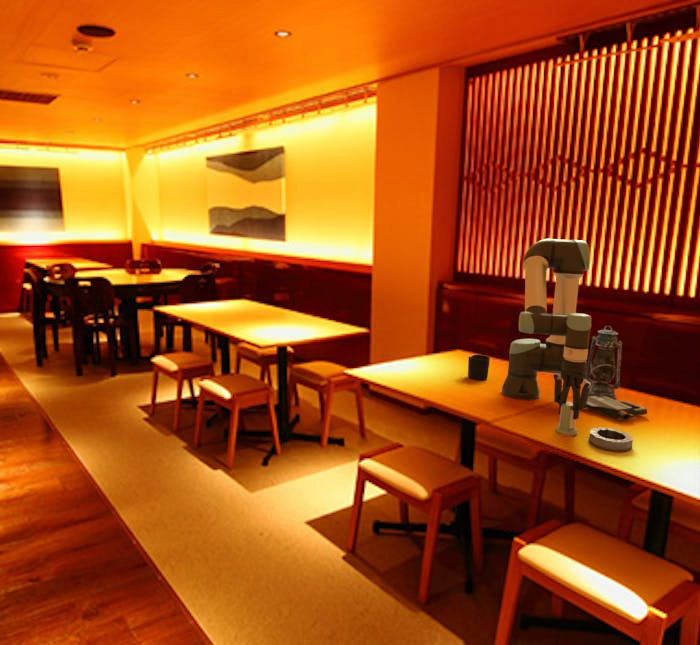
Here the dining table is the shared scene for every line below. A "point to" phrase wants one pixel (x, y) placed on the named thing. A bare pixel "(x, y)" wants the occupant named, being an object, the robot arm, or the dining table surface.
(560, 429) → the toggle switch lever
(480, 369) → the pen holder
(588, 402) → the camcorder
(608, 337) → the lantern
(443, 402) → the dining table surface
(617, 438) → the barrel ring
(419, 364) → the dining table surface
